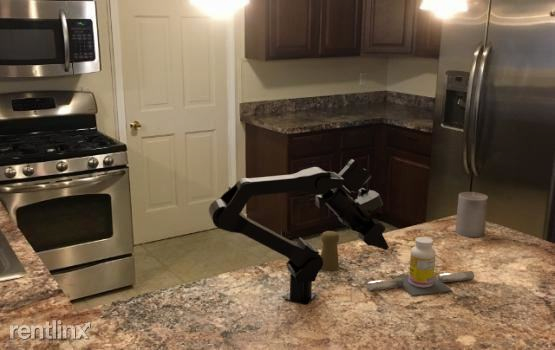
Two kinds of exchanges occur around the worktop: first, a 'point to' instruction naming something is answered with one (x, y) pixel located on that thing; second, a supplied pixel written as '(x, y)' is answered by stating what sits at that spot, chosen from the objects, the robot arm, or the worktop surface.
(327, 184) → the robot arm
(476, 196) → the pillar candle
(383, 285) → the steel shafts
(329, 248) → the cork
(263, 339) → the worktop surface
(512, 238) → the worktop surface
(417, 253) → the supplement bottle
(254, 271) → the worktop surface
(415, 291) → the rubber pad
